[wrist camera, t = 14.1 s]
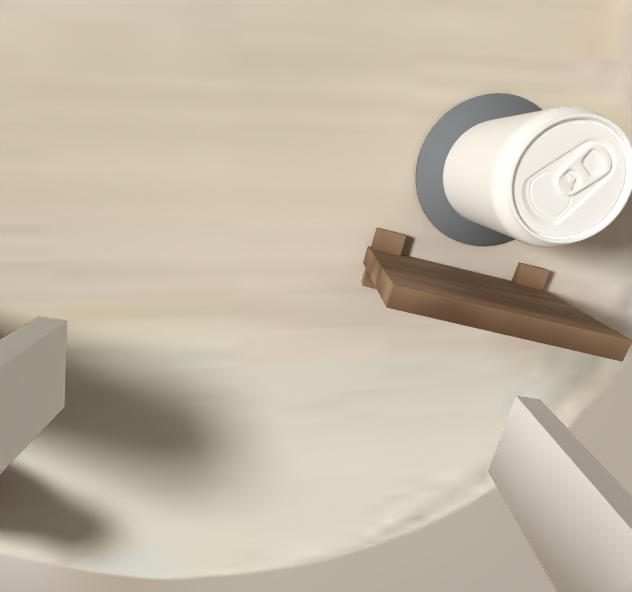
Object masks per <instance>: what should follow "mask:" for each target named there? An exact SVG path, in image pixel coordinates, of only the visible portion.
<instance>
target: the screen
mask: <svg viewBox="0 0 632 592" xmlns="http://www.w3.org/2000/svg"><path fill="white" fill-rule="evenodd" d="M405 239H406V236H405V235H404V234H401V233H397V232H393V231H389V230H385V229H381V228H377V229H376V233H375V236H374V240H373V243H372V247H368V248H367V252H366V255H365V259H364V262H363V263H364V265H365V267H366V268H365V271H364V275H363V278H362V282H361V283H362V285H363V286H366V287H370V288H375V289H377V290H378V292H379V294H380V296H381V298H382V300H383V301H384V303H385V305H386V307H387V308H391V309H395V310H400V311H404V312H409V313H413V314H417V315H422V316H426V317H430V318H435V319H439V320H443V321H448V322H452V323H457V324H461V325H465V326H470V327H474V328H478V329H483V330H487V331H491V332H496V333H500V334H504V335H509V336H513V337H518V338H522V339H526V340H531V341H535V342H539V343H544V344H548V345H552V346H557V347H561V348H566V349H570V350H574V351H579V352H583V353H587V354H592V355H596V356H600V357H605V358H609V359H613V360H618V361H623V359H624V357H625V355H626V353H627V351H628V349H629V347H630V345H631V343H632V340H630V339H629V338H627V337H625V336H623V335H622V334H620V333H618V332H616V331H615V330H613V329H611V328H609V327H608V326H606V325H604V324H602V323H600V322H599V321H597V320H595V319H593V318H592V317H590V316H588V315H586V314H585V313H583V312H581V311H579V310H578V309H576V308H574V307H572V306H571V305H569V304H567V303H565V302H564V301H562V300H560V299H558V298H557V297H555V296H553V295H551V294H550V293H548V292H546V291H544V290H543V288H544V285H545V283H546V280H547V278H548V275H549V273H550V271H548V270H546V269H544V268H539V267H535V266H531V265H527V264H523V263H519V264H518V266H517V269H516V271H515V274H514V277H513V279H512V281H509V280H505V279H501V278H497V277H492V276H488V275H484V274H480V273H476V272H472V271H468V270H463V269H459V268H455V267H451V266H447V265H443V264H439V263H434V262H430V261H426V260H422V259H418V258H414V257H409V256H405V255H401V252H402V249H403V245H404V242H405Z"/></svg>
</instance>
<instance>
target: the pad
mask: <svg viewBox="0 0 632 592" xmlns="http://www.w3.org/2000/svg"><path fill="white" fill-rule="evenodd" d="M537 111H542V109H541V108H539V107H538V106H537V105H535V104H534V103H532V102H530V101H528V100H527V99H524V98H521V97H519V96H515V95H510V94H500V93H496V94H486V95H482V96H478V97H475V98H472V99H469V100H467V101H465V102H463V103H461V104H459V105H457V106H456V107H454V108H453V109H451V110H450V111H449V112H447V113H446V114H445V115H444V116H443V117H442V118H441V119H440V120H439V121H438V122H437V123H436V125H435V126H434V127H433V128H432V130H431V131H430V133H429V134H428V136H427V138H426V140H425V142H424V144H423V146H422V148H421V151H420V154H419V157H418V162H417V167H416V188H417V195H418V198H419V201H420V204H421V206H422V209H423V211H424V213H425V214H426V216H427V218H428V219H429V220H430V222H431V223H432V224H433V225H434V226H435V227H436V228H437V229H438V230H439V231H440V232H442V233H443V234H445V235H446V236H448V237H450V238H452V239H454V240H456V241H458V242H461V243H465V244H469V245H478V246H486V245H494V244H499V243H503V242H506V241H509V240H511V239H513V238H512V237H509V236H507V235H504V234H502V233H499V232H497V231H495V230H492V229H490V228H487V227H485V226H482V225H480V224H477V223H475V222H472V221H470V220H468V219H466V218H464V217H462V216H461V215H460V214H459V213H457V212H456V211H455V210H454V208H453V207H452V206H451V204H450V203H449V201H448V199H447V197H446V194H445V190H444V185H443V170H444V165H445V161H446V158H447V156H448V154H449V152H450V150H451V148H452V146H453V145H454V143H455V142H456V141H457V140H458V139H459V137H460V136H461V135H462V134H464V133H465V132H466V131H467V130H469V129H470V128H472V127H473V126H475V125H477V124H480V123H482V122H485V121H489V120H494V119H499V118H505V117H510V116H515V115H521V114H526V113H531V112H537Z"/></svg>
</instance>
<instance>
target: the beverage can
mask: <svg viewBox="0 0 632 592" xmlns="http://www.w3.org/2000/svg"><path fill="white" fill-rule="evenodd" d="M443 185H444V190H445V194H446V197H447V199H448V201H449V203H450V204H451V206H452V207H453V208H454V210H455V211H456V212H457V213H459V214H460V215H461V216H462V217H464V218H466V219H468V220H470V221H472V222H475V223H477V224H480V225H482V226H485V227H487V228H490V229H492V230H495V231H497V232H499V233H502V234H504V235H507V236H509V237H512V238H514V239H517V240H519V241H522V242H524V243H527V244H530V245H534V246H539V247H558V246H564V245H568V244H571V243H574V242H578V241H581V240H584V239H587V238H589V237H591V236H593V235H595V234H597V233H598V232H600V231H601V230H603V229H604V228H605V227H607V226H608V225H609V224H610V223H611V222H612V221H613V220H614V219H615V218H616V217H617V216H618V214H619V213H620V212H621V210H622V209H623V207H624V206H625V204H626V202H627V200H628V198H629V196H630V194H631V191H632V145H631V143H630V141H629V139H628V137H627V136H626V134H625V133H624V132H623V131H622V130H621V129H620V128H619V127H618V126H617V125H616V124H615V123H613V122H612V121H610V120H608V119H607V118H606V117H604V116H603V115H601V114H599V113H597V112H595V111H592V110H589V109H586V108H581V107H572V106H568V107H558V108H552V109H547V110H542V111H537V112H531V113H526V114H521V115H515V116H510V117H505V118H499V119H494V120H489V121H485V122H482V123H480V124H477V125H475V126H473V127H472V128H470V129H469V130H467V131H466V132H465V133H464V134H462V135H461V136H460V137H459V139H458V140H457V141H456V142H455V143H454V145H453V146H452V148H451V150H450V152H449V154H448V156H447V158H446V161H445V165H444V170H443Z"/></svg>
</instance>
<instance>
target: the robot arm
mask: <svg viewBox="0 0 632 592" xmlns="http://www.w3.org/2000/svg"><path fill="white" fill-rule="evenodd" d="M66 339H67V321H65V320H59V319H53V318H47V317H41V316H38V317H36V318H35V319H33V320H31V321H30V322H28V323H26V324H25V325H23V326H22V327H20V328H18V329H17V330H15V331H13V332H12V333H10V334H8V335H7V336H5V337H3V338H2V339H0V474H1V473H2V472H3V471H4V470H5V469H6V468H7V466H8V465H9V464H10V463H11V462H12V461H13V460H14V459H15V458H16V457H17V456H18V455H19V454H20V453H21V452H22V451H23V450H24V449H25V448H26V447H27V446H28V445H29V443H30V442H31V441H32V440H33V439H34V438H35V437H36V436H37V435H38V434H39V433H40V432H41V431H42V430H43V429H44V428H45V427H46V426H47V425H48V424H49V423H50V422H51V420H52V419H53V418H54V417H55V416H56V415H57V414H58V413H59V412H60V411H61V410H62V409H63V408H64V406H65V373H66ZM488 472H489V474H490V476H491V477H492V479H493V481H494V483H495V484H496V486H497V488H498V490H499V491H500V493H501V495H502V497H503V498H504V500H505V502H506V504H507V505H508V507H509V509H510V511H511V512H512V514H513V516H514V518H515V519H516V521H517V523H518V525H519V526H520V528H521V530H522V532H523V533H524V535H525V537H526V539H527V540H528V542H529V544H530V546H531V547H532V549H533V551H534V553H535V554H536V556H537V558H538V560H539V561H540V563H541V565H542V567H543V568H544V570H545V572H546V574H547V575H548V577H549V579H550V581H551V582H552V584H553V586H554V588H555V590H556V591H557V592H632V496H631V495H630V494H629V493H628V492H627V491H626V490H625V489H624V488H623V487H622V486H621V485H620V483H619V482H618V481H617V480H616V479H615V478H614V477H613V476H612V475H611V474H610V473H609V472H608V471H607V470H606V469H605V468H604V467H603V466H602V465H601V463H600V462H599V461H598V460H597V459H596V458H595V457H594V456H593V455H592V454H591V453H590V452H589V451H588V450H587V449H586V448H585V447H584V445H582V443H581V442H580V441H579V440H578V439H577V438H576V437H575V436H574V435H573V434H572V433H571V432H570V431H569V430H568V429H567V428H566V426H565V425H564V424H563V423H562V422H561V421H560V420H559V419H558V418H557V417H556V416H555V415H554V414H553V413H552V412H551V411H550V410H549V409H548V407H547V406H546V405H545V404H544V403H543V402H542V401H541V400H539V399H533V398H527V397H521V396H516V397H515V400H514V403H513V405H512V408H511V411H510V413H509V416H508V419H507V422H506V424H505V427H504V430H503V433H502V435H501V438H500V441H499V443H498V446H497V449H496V452H495V454H494V457H493V460H492V463H491V465H490V468H489V471H488Z"/></svg>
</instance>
